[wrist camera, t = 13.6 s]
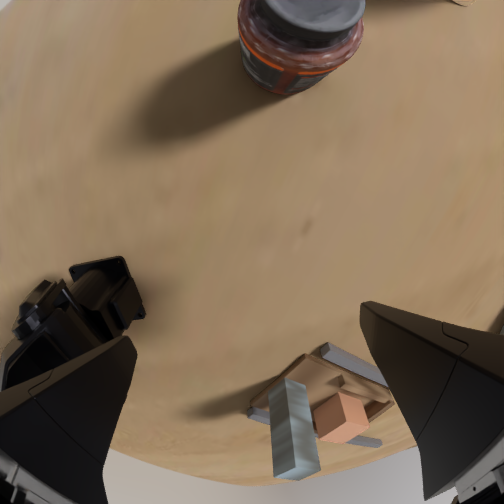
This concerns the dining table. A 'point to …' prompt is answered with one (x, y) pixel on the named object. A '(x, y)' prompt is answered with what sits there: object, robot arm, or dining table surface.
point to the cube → (340, 419)
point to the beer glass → (464, 2)
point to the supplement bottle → (297, 40)
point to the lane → (349, 363)
